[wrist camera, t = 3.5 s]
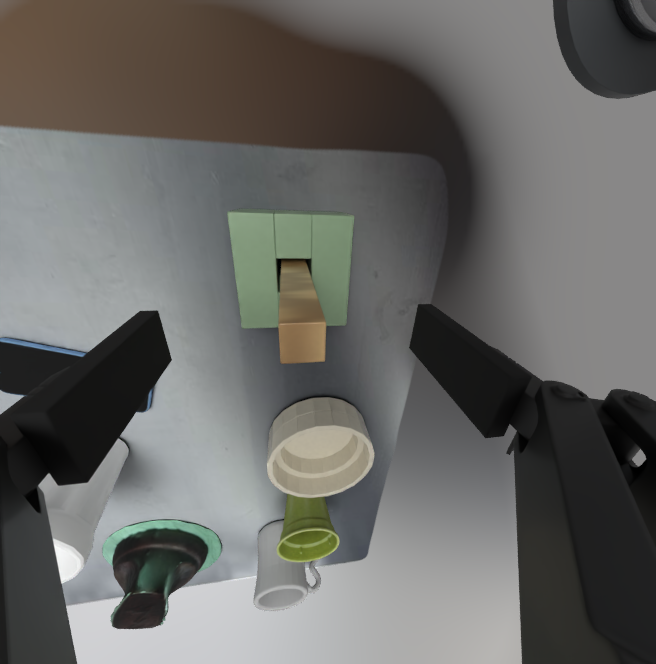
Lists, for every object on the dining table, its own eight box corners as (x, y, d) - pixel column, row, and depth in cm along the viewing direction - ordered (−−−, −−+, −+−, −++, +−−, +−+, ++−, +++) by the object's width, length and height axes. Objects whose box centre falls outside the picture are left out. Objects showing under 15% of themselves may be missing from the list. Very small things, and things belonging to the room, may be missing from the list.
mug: (251, 541, 52) (244, 611, 43) (268, 515, 49) (265, 585, 40) (307, 546, 56) (311, 611, 47) (326, 522, 53) (335, 587, 44)
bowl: (331, 376, 36) (340, 407, 31) (377, 432, 43) (391, 465, 37) (249, 427, 38) (243, 464, 33) (305, 472, 45) (308, 509, 39)
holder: (340, 211, 27) (354, 215, 21) (335, 303, 31) (346, 325, 26) (238, 208, 25) (226, 211, 20) (249, 305, 30) (241, 329, 24)
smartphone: (148, 414, 33) (-4, 393, 29) (151, 410, 34) (3, 388, 30) (153, 369, 30) (-14, 337, 26) (156, 364, 31) (-6, 333, 27)
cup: (139, 420, 35) (67, 530, 23) (150, 469, 39) (94, 583, 27) (49, 420, 33) (-78, 541, 21) (72, 472, 37) (-24, 596, 26)
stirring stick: (302, 250, 28) (326, 322, 12) (302, 271, 29) (325, 362, 13) (281, 250, 28) (278, 323, 12) (282, 271, 28) (280, 364, 13)
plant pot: (311, 509, 50) (316, 566, 42) (268, 499, 46) (264, 558, 39) (340, 481, 47) (351, 536, 39) (296, 467, 44) (298, 524, 36)
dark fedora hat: (85, 526, 41) (220, 514, 46) (130, 522, 56) (228, 514, 61) (32, 674, 33) (203, 642, 37) (101, 623, 48) (218, 605, 52)
